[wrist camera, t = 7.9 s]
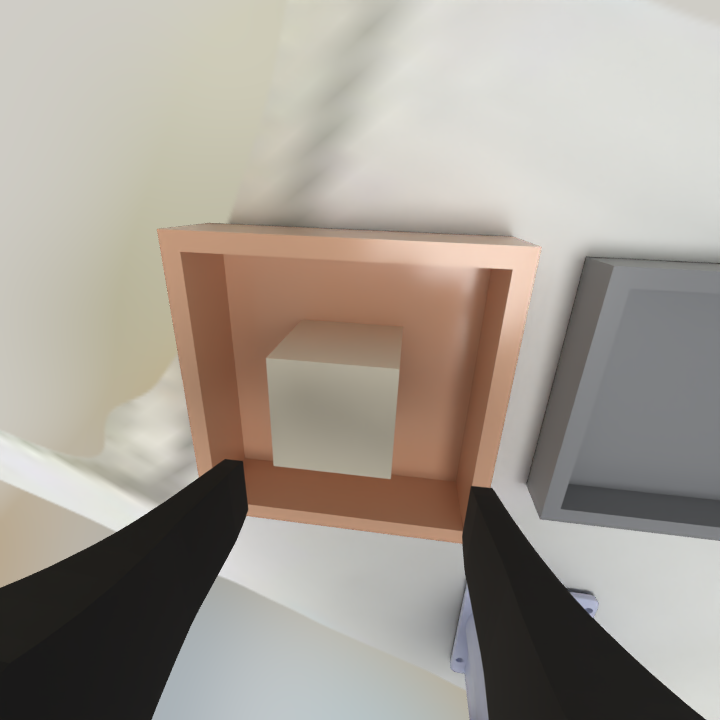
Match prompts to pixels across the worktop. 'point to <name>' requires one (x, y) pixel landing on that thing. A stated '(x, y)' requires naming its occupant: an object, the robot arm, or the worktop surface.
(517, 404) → the worktop surface
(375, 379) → the stone block
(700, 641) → the worktop surface
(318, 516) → the bin
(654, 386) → the tray
